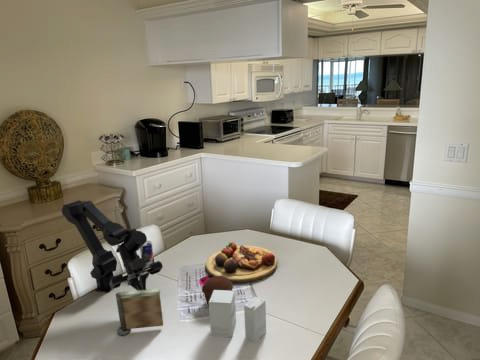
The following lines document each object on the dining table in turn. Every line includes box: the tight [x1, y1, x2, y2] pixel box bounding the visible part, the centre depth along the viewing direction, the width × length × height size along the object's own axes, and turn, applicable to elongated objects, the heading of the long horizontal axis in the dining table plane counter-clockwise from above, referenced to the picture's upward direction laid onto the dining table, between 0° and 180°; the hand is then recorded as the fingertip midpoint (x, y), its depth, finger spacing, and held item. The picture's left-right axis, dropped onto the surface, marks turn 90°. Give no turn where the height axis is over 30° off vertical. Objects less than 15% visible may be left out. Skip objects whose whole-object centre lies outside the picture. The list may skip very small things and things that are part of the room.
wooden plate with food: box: [205, 241, 279, 284], centre depth 160 cm, size 32×32×8 cm
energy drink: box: [139, 240, 155, 269], centre depth 161 cm, size 5×5×12 cm
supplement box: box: [208, 290, 237, 338], centre depth 118 cm, size 7×7×13 cm
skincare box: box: [243, 296, 267, 343], centre depth 114 cm, size 6×4×12 cm
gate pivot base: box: [116, 326, 132, 337], centre depth 120 cm, size 4×4×1 cm
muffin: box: [201, 276, 234, 308], centre depth 132 cm, size 12×11×10 cm
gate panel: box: [115, 288, 164, 330], centre depth 119 cm, size 14×2×13 cm, turn 95°
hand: (145, 296), depth 128 cm, fingers closed
